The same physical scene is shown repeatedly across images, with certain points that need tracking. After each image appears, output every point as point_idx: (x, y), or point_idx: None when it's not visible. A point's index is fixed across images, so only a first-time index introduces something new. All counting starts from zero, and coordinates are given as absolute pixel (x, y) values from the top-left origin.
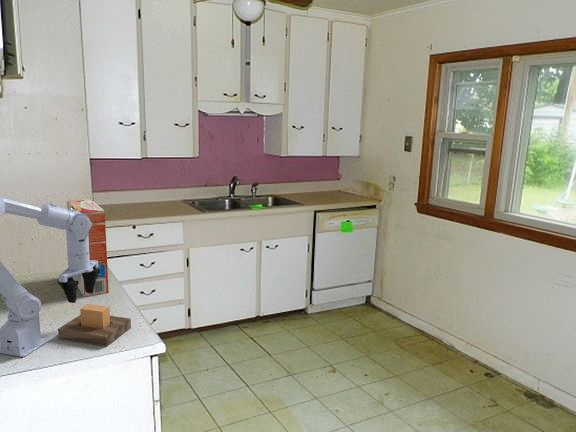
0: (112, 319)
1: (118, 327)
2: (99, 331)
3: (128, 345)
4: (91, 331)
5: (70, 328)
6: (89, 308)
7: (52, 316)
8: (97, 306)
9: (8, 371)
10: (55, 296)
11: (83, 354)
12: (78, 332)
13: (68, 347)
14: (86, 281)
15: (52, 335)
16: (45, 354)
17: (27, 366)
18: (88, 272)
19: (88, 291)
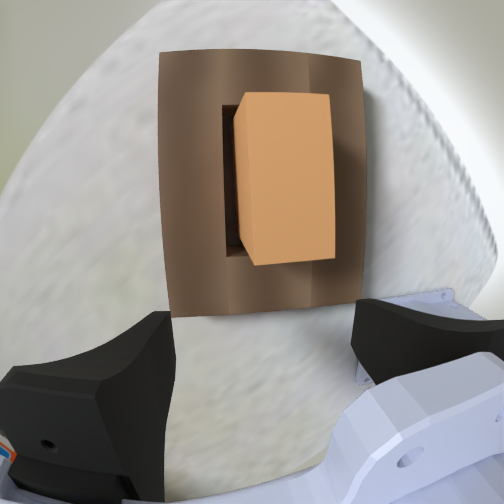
0: (197, 126)
1: (269, 51)
2: (333, 111)
3: (305, 11)
4: (345, 146)
5: (347, 255)
6: (314, 204)
7: (197, 421)
8: (266, 174)
9: (492, 267)
10: None
11: (407, 127)
12: (366, 198)
13: (386, 206)
14: (159, 413)
15: (325, 323)
16: (431, 245)
17: (477, 242)
18: (141, 473)
19: (171, 343)
